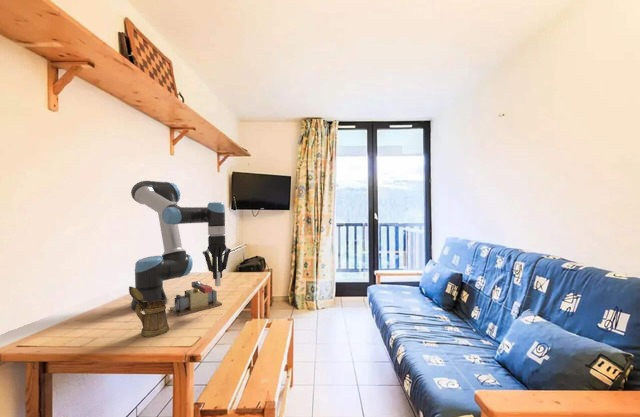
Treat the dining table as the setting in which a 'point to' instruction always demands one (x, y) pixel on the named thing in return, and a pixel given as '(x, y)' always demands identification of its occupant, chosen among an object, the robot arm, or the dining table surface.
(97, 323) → the dining table surface
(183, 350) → the dining table surface
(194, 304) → the valve body
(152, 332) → the wooden mug
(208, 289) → the lever
